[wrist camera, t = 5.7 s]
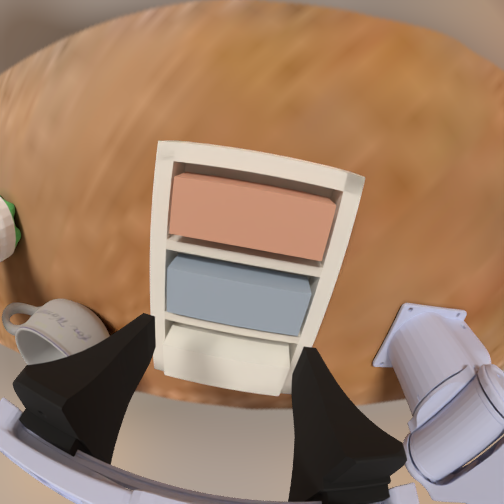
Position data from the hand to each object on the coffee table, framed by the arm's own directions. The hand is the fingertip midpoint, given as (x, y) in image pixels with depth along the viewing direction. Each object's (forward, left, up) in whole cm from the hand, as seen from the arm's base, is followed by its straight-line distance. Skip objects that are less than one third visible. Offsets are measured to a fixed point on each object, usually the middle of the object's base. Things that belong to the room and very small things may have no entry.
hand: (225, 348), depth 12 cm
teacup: (+18, +11, -11) cm, 24 cm away
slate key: (0, +1, -8) cm, 8 cm away
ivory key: (0, +7, -7) cm, 10 cm away
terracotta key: (0, -5, -8) cm, 10 cm away
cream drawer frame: (0, +1, -10) cm, 10 cm away
